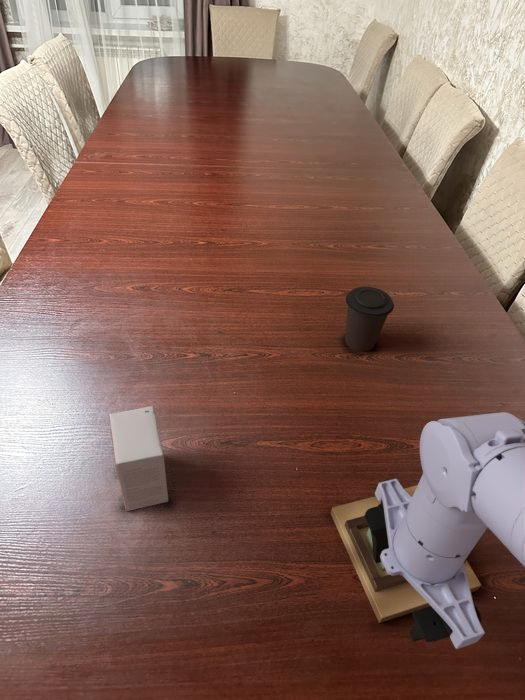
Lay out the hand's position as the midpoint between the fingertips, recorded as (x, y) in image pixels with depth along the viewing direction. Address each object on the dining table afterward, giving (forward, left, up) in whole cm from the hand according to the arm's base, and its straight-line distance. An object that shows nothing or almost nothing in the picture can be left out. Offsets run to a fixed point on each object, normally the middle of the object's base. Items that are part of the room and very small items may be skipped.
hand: (401, 594), depth 51 cm
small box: (+26, +22, -10) cm, 35 cm away
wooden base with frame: (+8, -7, -9) cm, 14 cm away
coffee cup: (+45, -19, -10) cm, 49 cm away
